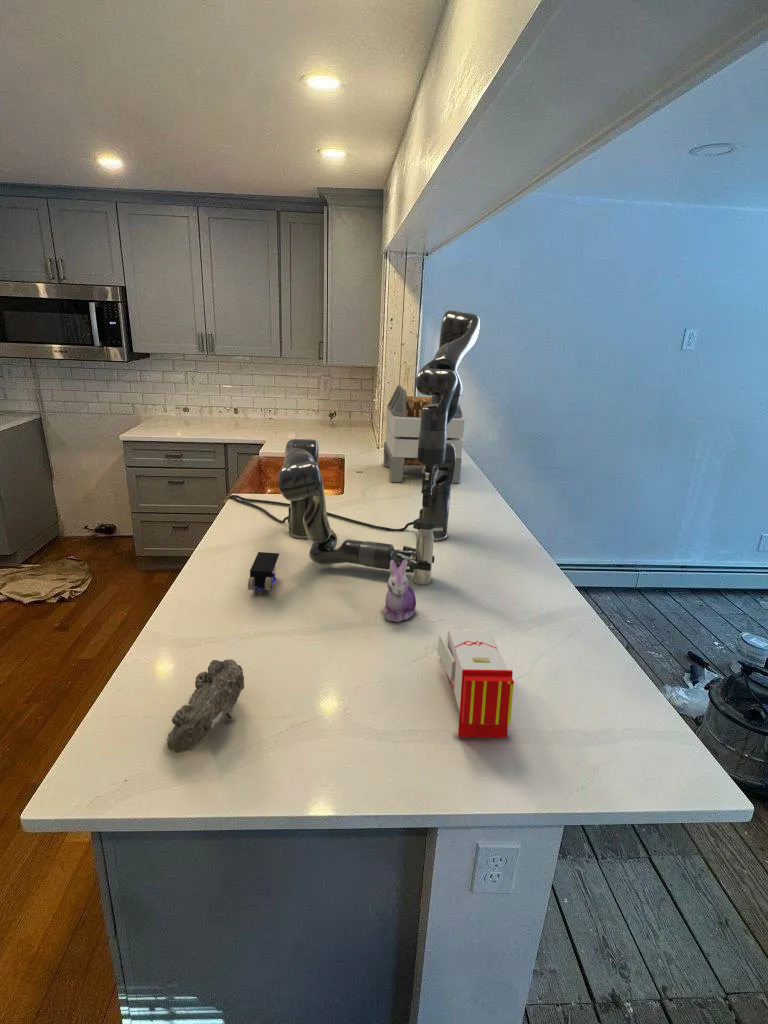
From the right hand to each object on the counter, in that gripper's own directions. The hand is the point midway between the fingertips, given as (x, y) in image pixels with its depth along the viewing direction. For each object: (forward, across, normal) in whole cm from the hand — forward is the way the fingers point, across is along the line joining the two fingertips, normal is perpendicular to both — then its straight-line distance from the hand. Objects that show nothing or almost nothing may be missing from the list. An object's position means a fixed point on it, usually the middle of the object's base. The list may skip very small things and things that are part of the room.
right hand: (427, 502), depth 158 cm
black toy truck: (+24, -16, +42) cm, 51 cm away
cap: (+6, 0, 0) cm, 6 cm away
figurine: (+24, -21, +3) cm, 32 cm away
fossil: (+24, -69, +31) cm, 79 cm away
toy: (+24, -48, -17) cm, 57 cm away
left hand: (+18, 0, -3) cm, 18 cm away
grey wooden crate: (+24, +114, +17) cm, 118 cm away
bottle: (+24, 0, 0) cm, 24 cm away
